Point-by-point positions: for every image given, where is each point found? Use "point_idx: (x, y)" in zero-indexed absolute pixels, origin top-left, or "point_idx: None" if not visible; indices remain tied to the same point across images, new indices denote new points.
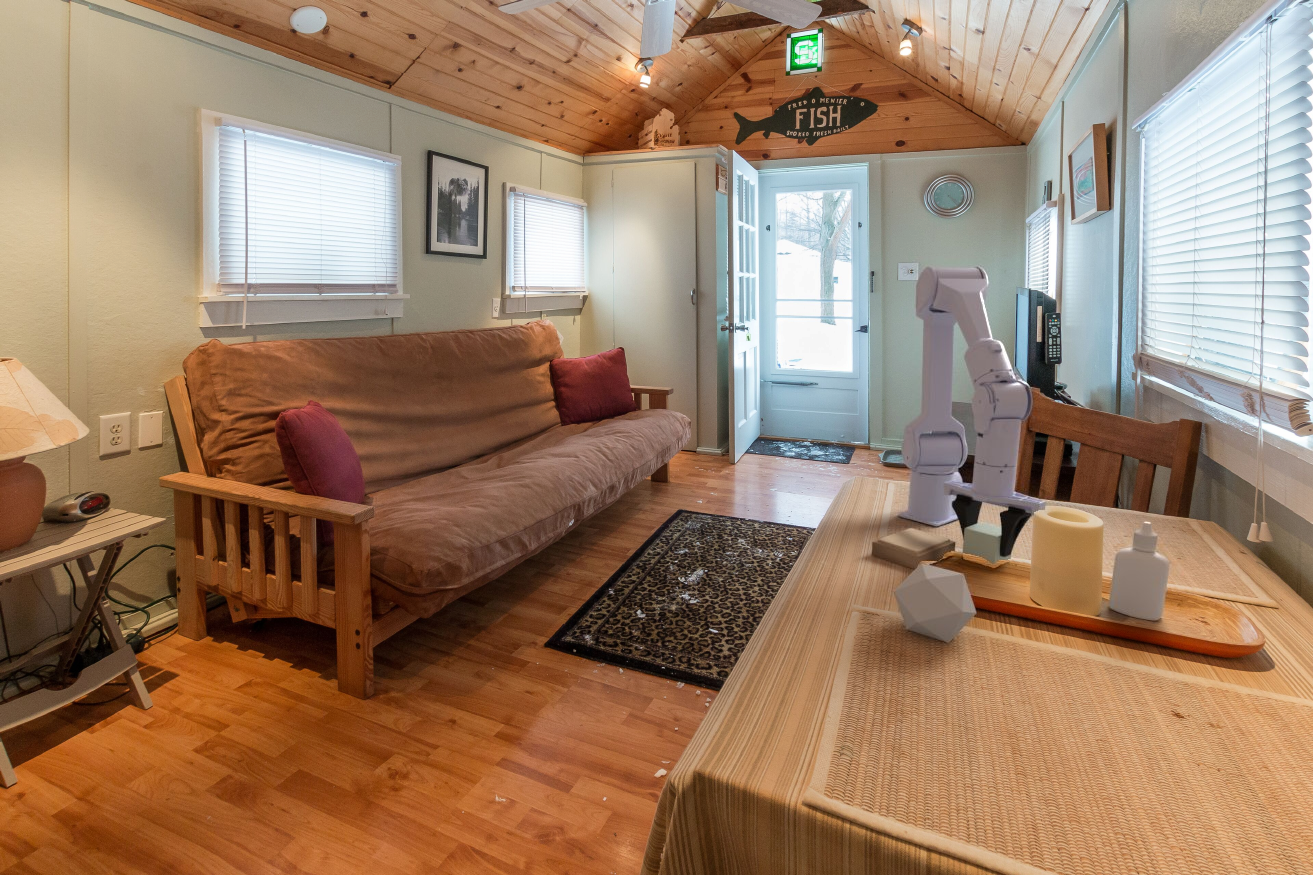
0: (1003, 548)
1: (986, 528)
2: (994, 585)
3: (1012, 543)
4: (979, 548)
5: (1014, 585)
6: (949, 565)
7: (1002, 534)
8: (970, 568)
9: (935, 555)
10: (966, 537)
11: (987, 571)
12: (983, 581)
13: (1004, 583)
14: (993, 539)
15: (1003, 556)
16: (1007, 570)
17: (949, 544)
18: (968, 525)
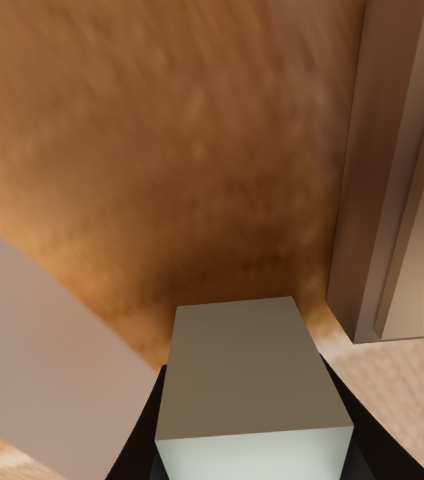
0: (157, 394)
1: (267, 476)
2: (55, 177)
3: None
4: (239, 348)
5: (33, 240)
6: (289, 210)
7: (146, 470)
8: (221, 249)
9: (364, 183)
10: (314, 374)
11: (171, 272)
12: (105, 176)
13: (60, 227)
14: (176, 414)
15: (164, 365)
16: (146, 325)
17: (360, 304)
18: (354, 457)
